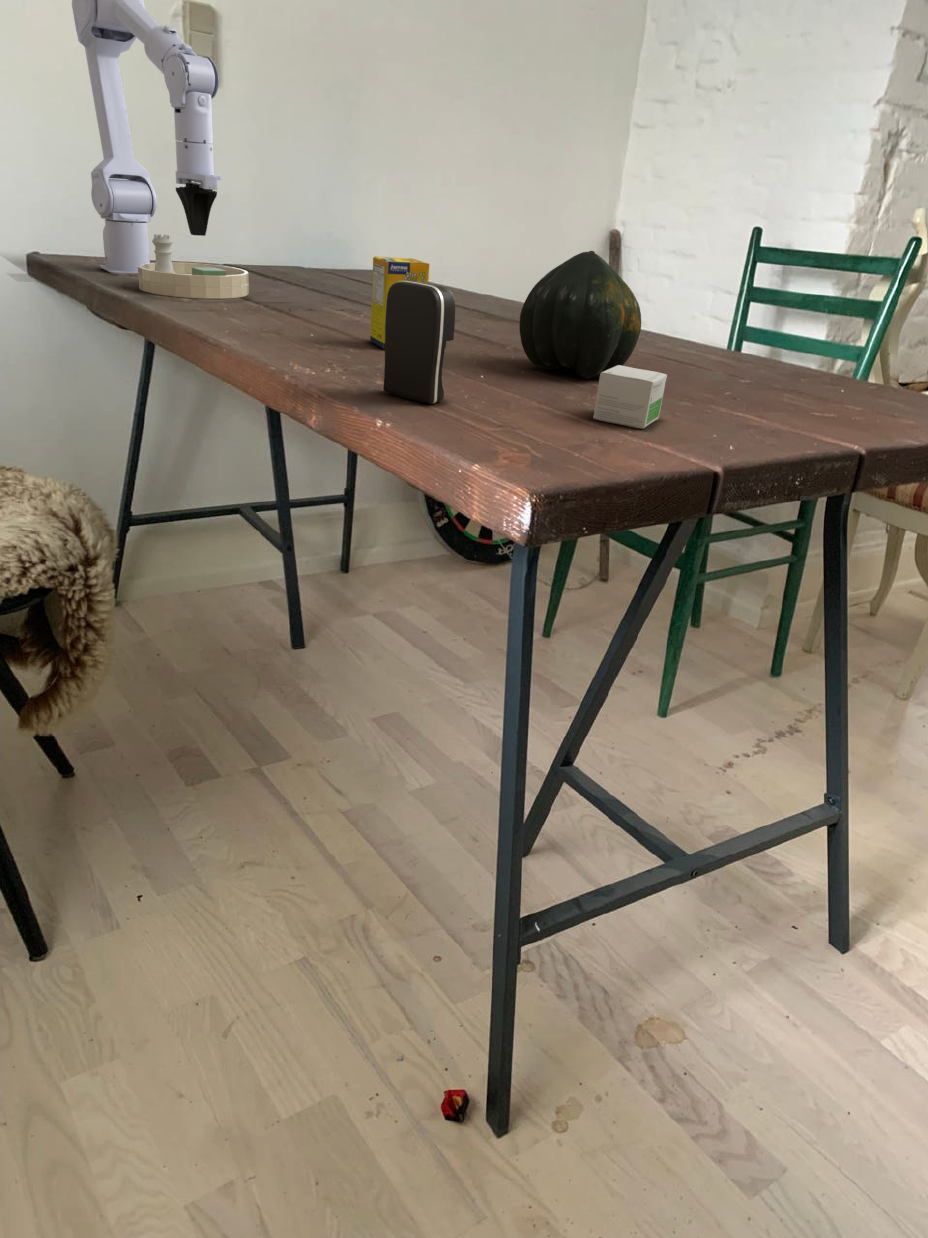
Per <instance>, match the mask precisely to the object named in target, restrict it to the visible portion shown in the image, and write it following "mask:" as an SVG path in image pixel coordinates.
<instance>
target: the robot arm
mask: <svg viewBox="0 0 928 1238" xmlns="http://www.w3.org/2000/svg"><path fill="white" fill-rule="evenodd" d="M71 9H72V14H73V20H74V26H75V30H76V35H77V41H78V42H79V43H80V44H81V45H82V46H83V47H84V51H85V57H86V63H87V69H88V74H89V80H90V86H91V92H92V98H93V103H94V104H93V105H94V110H95V116H96V121H97V129H98V133H99V138H100V145H101V151H102V156H103V159H102V161H100V162H99V163H98V164H97V165H96V166H95V167H94V168H93V170H92V171H91V172H90V178H91V192H90V193H91V194H90V195H91V202H92V205H93V207H94V210H95V211H96V213H97V214H98V215H99V216H100V218H101V219H103V220H104V227H103V229H102V242H103V253H104V264H100V265H99V268H100V269H102V270H104V271H106V272H108V273H110V274H138V265H140V264H144V263H151V260H150V243H149V230H148V229H149V227H148V222H149V223H150V222H151V221H152V217H154V215H155V213H156V211H157V206H158V200H157V194H156V191H155V189H154V187H153V184H152V181H151V176H150V172H149V171H148V170H147V169H146V168H145V167H144V166H143V165H142V164H140V163H139V162H138V161H137V159H136V158H135V153H134V147H133V141H132V136H131V135H132V134H131V129H130V122H129V117H128V110H127V104H126V97H125V93H124V92H125V91H124V86H123V80H122V72H121V67H120V60H119V59H120V55H121V54H122V53H124V52H127V51H129V50H130V49H131V47H132V46H133V44H134V43H135V41H136V39H138V40H139V41H140V42H141V43H142V44H143V45H144V46H143V47H144V53H145V55H146V57H147V58H148V60H149V61H150V62H151V63H152V64H153V65H154V66H155V67H156V68H157V69H158V70H159V71H160V73H162V74H163V77H164V82H165V86H166V89H167V90H168V95H169V103H170V106H171V108H173V114H174V116H173V117H174V137H175V138H174V139H175V158H176V160H175V161H176V170H175V184H177V185H185V186H179V187H175V192H176V194H177V196H178V197H179V200H180V202H181V204H182V207H183V210H184V214H185V217H186V221H187V226H188V229H189V233H190V235H191V236H198V237H199V236H202V237H206V235H207V231H208V225H209V219H210V214H211V210H212V207H213V204H214V202H215V200H216V198H217V195H218V181H222V175H220V174H215V168H214V167H215V166H214V164H215V163H214V134H213V132H214V131H213V105H212V103H213V102H212V99H214V98H215V97H216V95H217V93H218V90H219V84H220V78H219V70H218V68H217V65H216V63H215V62H214V61H213V59H212V57H211V56H208V55H202V56H200V55H197V53H196V52H195V51H194V50H193V48H192V47H193V46H191V45H190V44H188V43H186V42H185V41H183V39H182V38H181V37H179V35H178V31H177V29H176V28H175V27H174V26H170V25H167V24H166V25H159V24H158V23H157V22H156V20H155V19H154V18H153V17H152V16H151V14H150V13H149V12H148V11H147V10H146V5H145V0H71Z"/></svg>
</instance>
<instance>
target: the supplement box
mask: <svg viewBox="0 0 928 1238" xmlns="http://www.w3.org/2000/svg"><path fill="white" fill-rule="evenodd" d="M429 277H430V263H428V262H425V261H422V260H419V259H416V258H411V257H393V256H379V255H376V256H373V257H372V281H371V287H372V288H371V311H370V313H371V315H370V337H369V341H370V342H372V344H374V345H376V346H378V347H380V348H381V349H382V350H385V319H386V303H387V294H388V291H389V288H390V287H391V286H392V284H394V283H396V282H398V281H410V282H413V281H415V282H422V283H429Z"/></svg>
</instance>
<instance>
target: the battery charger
mask: <svg viewBox="0 0 928 1238" xmlns="http://www.w3.org/2000/svg"><path fill="white" fill-rule="evenodd" d="M455 324H456V299H455V295H454V294H453V292H452V291H451V290H450V289H449V288H447V287H446V286H442V285H439V284H433V283H429V282H428V283H422V282H415V281H413V282H410V281H398V282H396V283H394V284H392V286H391V287H390V288H389V291H388V294H387V303H386V319H385V349H384V371H383V391H384V392H385V393H388V394H391V395H393V396H397V397H401V398H404V399H407V400H412V401H415V402H421V403H425V404H426V403H427V404H436V403H438V402H441V401H443V400H444V397H445V391H444V387H443V366H444V358H445V349H446V348H447V342H450V341H451V342H452V341H454V340H455V339H454V337H455V328H456V327H455V326H456V325H455Z"/></svg>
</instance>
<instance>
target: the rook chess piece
mask: <svg viewBox="0 0 928 1238" xmlns="http://www.w3.org/2000/svg"><path fill="white" fill-rule="evenodd" d="M151 242H152V244H153V246H154V251H153V252H154V255H155V262H154V263H155V270H154V271H160V272H168V273H175V272H174V270H173V266H172V262H173V261H172V253H173V251H172V250H171V249H172V248H171V247H172V245H173V243H174V241H173V240H172V239H171V235H169V234H168V235H167V234H163V236H162V234H153V239H152V240H151Z"/></svg>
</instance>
